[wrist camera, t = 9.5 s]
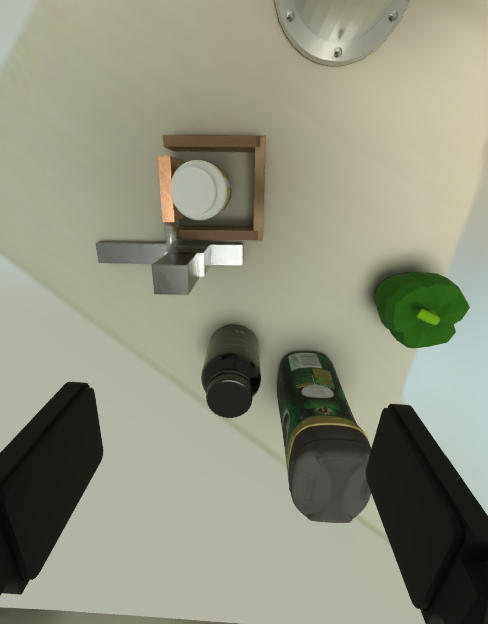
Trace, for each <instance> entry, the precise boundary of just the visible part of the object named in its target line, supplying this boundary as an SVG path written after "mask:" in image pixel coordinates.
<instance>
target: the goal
mask: <svg viewBox="0 0 488 624" xmlns="http://www.w3.org/2000/svg"><path fill="white" fill-rule="evenodd" d="M163 140H164V147H166V148H168V149H170V150H172V151H215V152H255V173H254V222H253V227H230V226H177V239H194V240H263V208H264V176H265V144H266V136H229V135H163Z"/></svg>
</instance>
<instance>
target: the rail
mask: <svg viewBox="0 0 488 624" xmlns="http://www.w3.org/2000/svg"><path fill="white" fill-rule="evenodd" d="M178 245H210V265H242V264H243V244H234V243H178ZM96 249H97V255H98V262H99V263H131V264H153V263H155V262H156V261H157V260H159V259H160V258H162V257H163V256H164V253H165V252H166V251H167V248H166V242H97V243H96Z"/></svg>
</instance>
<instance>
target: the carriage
mask: <svg viewBox="0 0 488 624" xmlns="http://www.w3.org/2000/svg"><path fill="white" fill-rule="evenodd" d="M157 159H158V172H159V184H160V197H161V209H162V222H164V223H165V235H166V248H167V251H166V252H165V253H164V256H163V257H162V258H160V259H159V260H157V261H156V262H155V263H153V264H152V275H153V285H154V294H172V295H189V293H190V292H191V290H192V288H193V287H194V285H195V283H196V282H197V280H198V279H199V276H205V274H206V272H207V270H208V268H209V267H210V245H178V240H177V224H176V221H178V220H181V219H183V218H185V216H184V215H183V214H182V213H181V212H180V211H179V210H178V209H177V208H176V206H175V205H174V203H173V200H172V198H171V194H170V184H171V180H172V177H173V175H174V173H175V171H176V170H177V169H178V168H179V167H180V166H181V165H182V164H183V163H182V161H181V160H179V159H176V158H174V157H172V156H157Z"/></svg>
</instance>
